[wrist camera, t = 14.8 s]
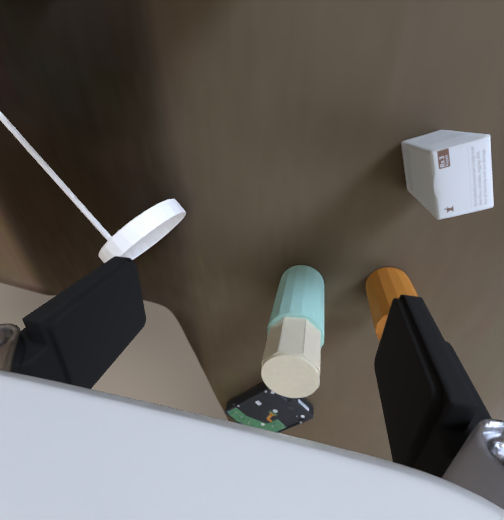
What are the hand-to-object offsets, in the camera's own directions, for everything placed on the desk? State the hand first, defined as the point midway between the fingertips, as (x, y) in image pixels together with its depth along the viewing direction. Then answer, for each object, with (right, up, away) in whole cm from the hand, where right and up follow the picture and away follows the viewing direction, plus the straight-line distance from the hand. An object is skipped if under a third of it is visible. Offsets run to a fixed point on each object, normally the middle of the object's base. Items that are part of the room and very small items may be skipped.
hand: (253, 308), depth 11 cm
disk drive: (+3, -27, +48) cm, 55 cm away
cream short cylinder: (+5, -7, +23) cm, 25 cm away
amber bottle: (+19, -2, +31) cm, 36 cm away
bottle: (+8, -2, +34) cm, 35 cm away
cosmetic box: (+20, +13, +23) cm, 33 cm away
